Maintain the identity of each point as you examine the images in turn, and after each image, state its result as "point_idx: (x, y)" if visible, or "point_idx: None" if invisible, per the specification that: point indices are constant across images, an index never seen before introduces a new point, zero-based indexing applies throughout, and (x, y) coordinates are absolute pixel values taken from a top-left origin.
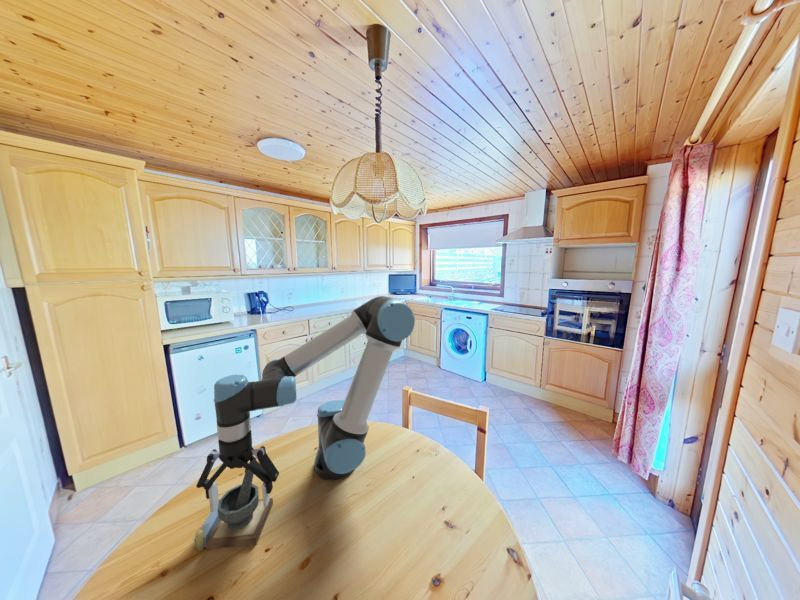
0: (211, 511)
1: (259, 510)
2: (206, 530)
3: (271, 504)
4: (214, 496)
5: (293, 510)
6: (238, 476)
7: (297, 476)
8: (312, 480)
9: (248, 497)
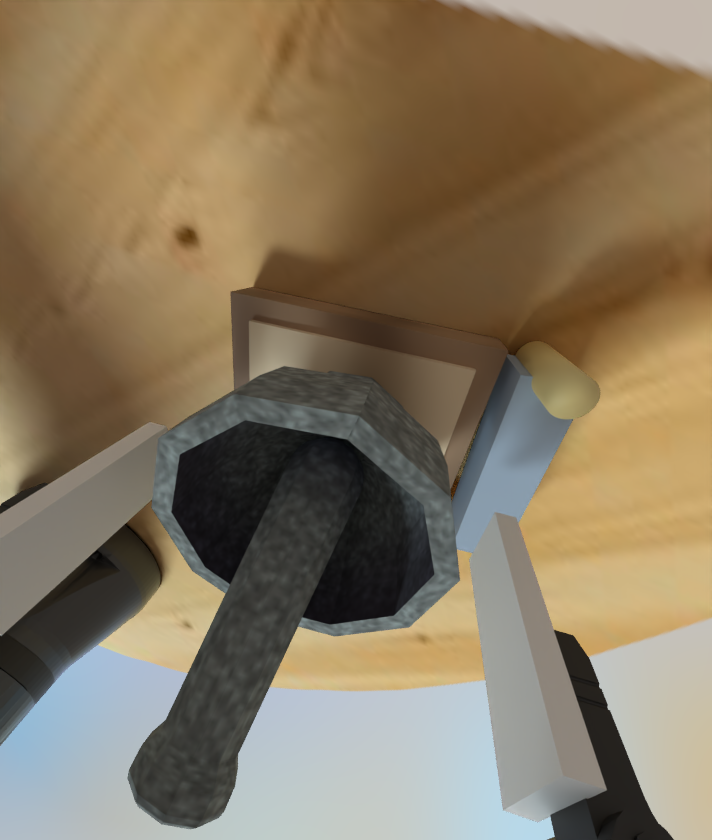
0: (510, 517)
1: None
2: (521, 422)
3: None
4: (506, 632)
5: (157, 414)
6: (429, 634)
7: None
8: (143, 516)
9: (261, 521)
